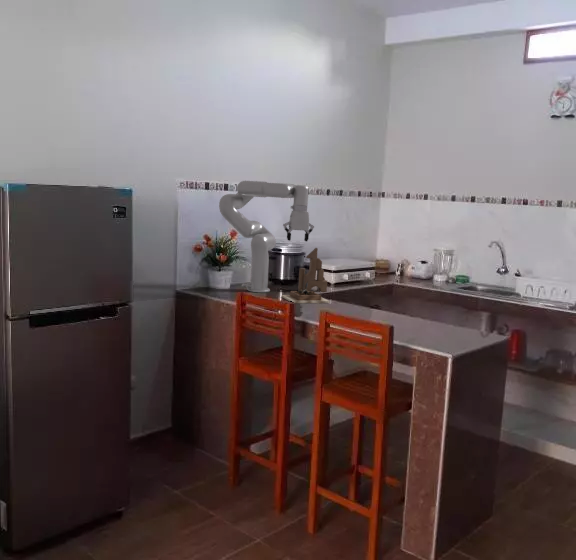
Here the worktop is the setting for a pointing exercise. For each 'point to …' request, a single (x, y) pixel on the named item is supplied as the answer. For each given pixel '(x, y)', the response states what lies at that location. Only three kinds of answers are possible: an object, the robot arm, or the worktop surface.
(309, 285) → the wooden toy
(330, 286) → the worktop surface
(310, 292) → the eagle figurine
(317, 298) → the jig
